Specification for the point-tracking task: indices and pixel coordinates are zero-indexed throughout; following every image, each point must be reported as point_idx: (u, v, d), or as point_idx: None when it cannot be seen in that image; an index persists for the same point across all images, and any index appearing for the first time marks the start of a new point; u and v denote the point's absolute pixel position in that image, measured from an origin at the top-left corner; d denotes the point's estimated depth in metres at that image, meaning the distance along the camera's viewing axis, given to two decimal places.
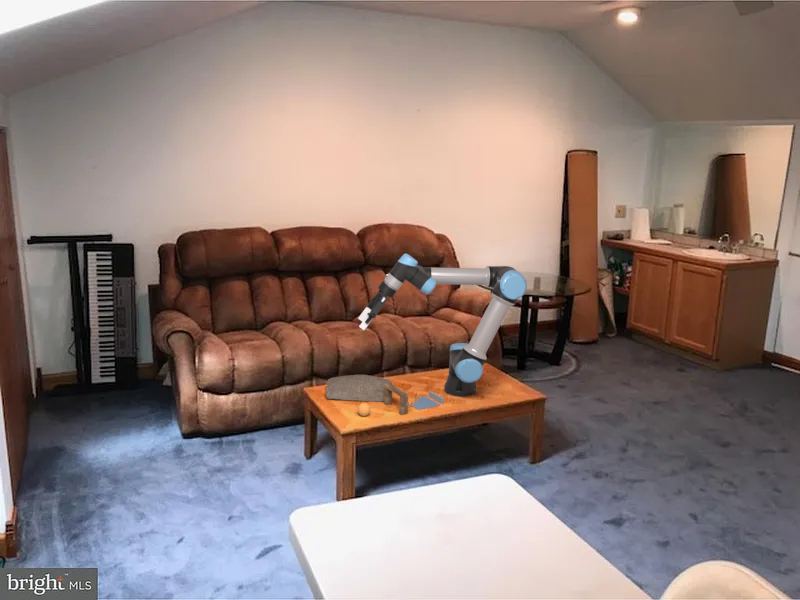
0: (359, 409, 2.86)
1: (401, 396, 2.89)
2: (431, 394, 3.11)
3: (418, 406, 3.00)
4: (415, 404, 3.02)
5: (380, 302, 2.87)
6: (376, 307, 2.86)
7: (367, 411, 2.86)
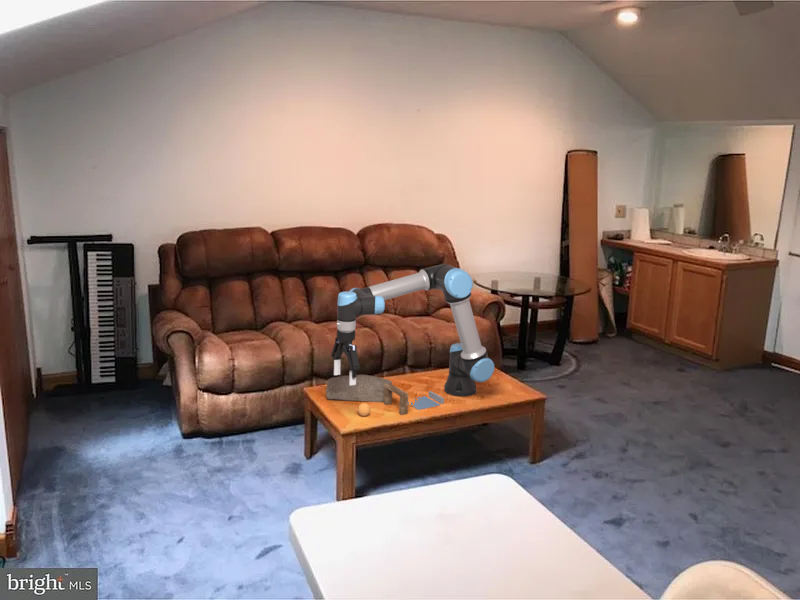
0: (359, 409, 2.86)
1: (401, 396, 2.89)
2: (431, 394, 3.11)
3: (418, 406, 3.00)
4: (415, 404, 3.02)
5: (353, 352, 2.71)
6: (353, 359, 2.70)
7: (367, 411, 2.86)
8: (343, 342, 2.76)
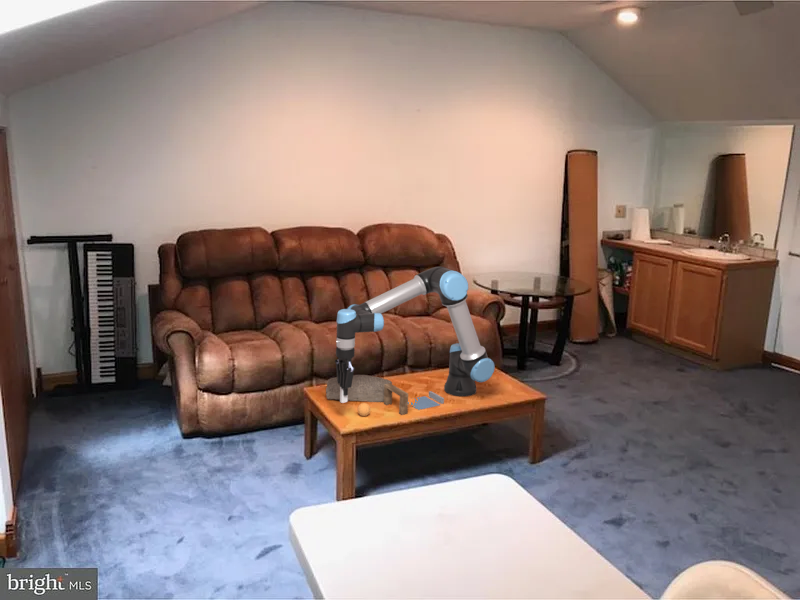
0: (359, 409, 2.86)
1: (401, 396, 2.89)
2: (431, 394, 3.11)
3: (418, 406, 3.00)
4: (415, 404, 3.02)
5: (350, 373, 2.74)
6: (348, 380, 2.75)
7: (367, 411, 2.86)
8: (342, 359, 2.77)
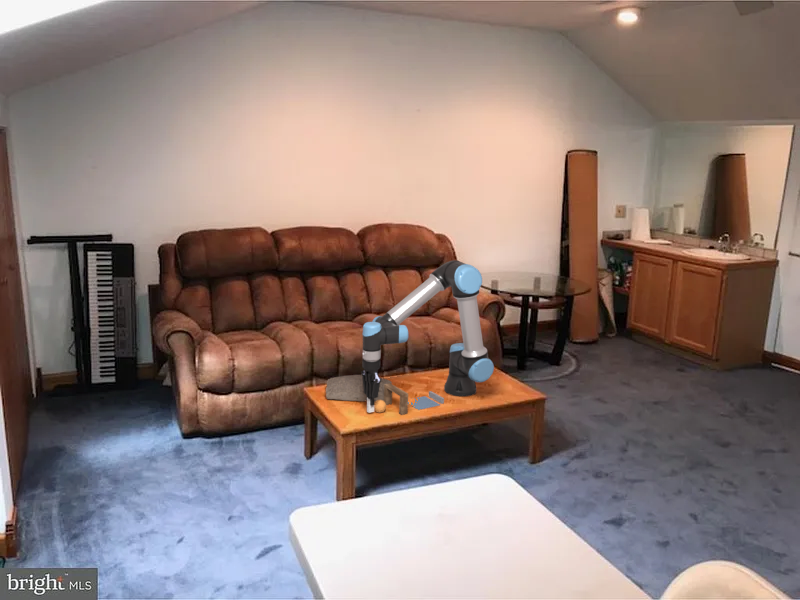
0: None
1: (401, 396, 2.89)
2: (431, 394, 3.11)
3: (418, 406, 3.00)
4: (415, 404, 3.02)
5: (376, 384, 2.82)
6: (374, 390, 2.83)
7: (382, 408, 2.90)
8: (369, 371, 2.85)
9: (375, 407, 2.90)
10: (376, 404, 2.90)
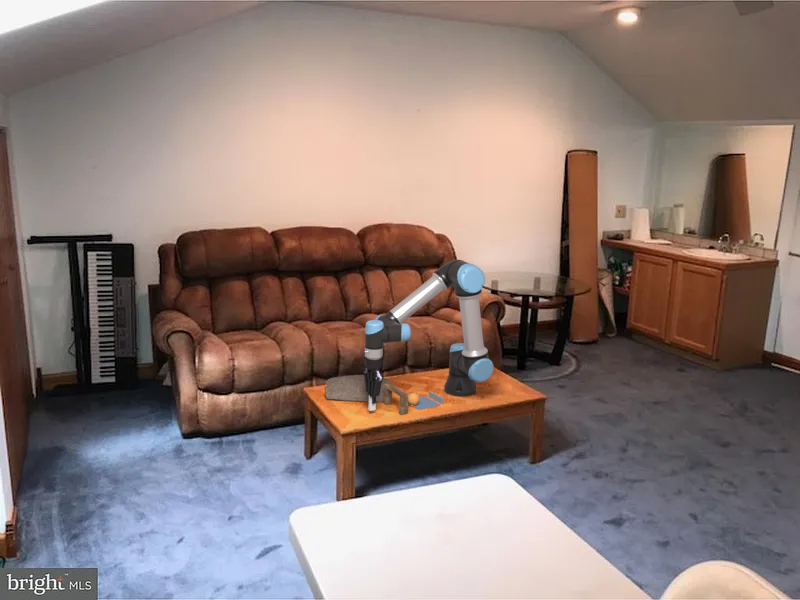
0: None
1: (401, 396, 2.89)
2: (431, 394, 3.11)
3: (418, 406, 3.00)
4: None
5: (378, 382, 2.83)
6: (376, 388, 2.84)
7: (416, 401, 2.99)
8: (371, 369, 2.85)
9: (409, 400, 2.99)
10: (410, 397, 2.99)
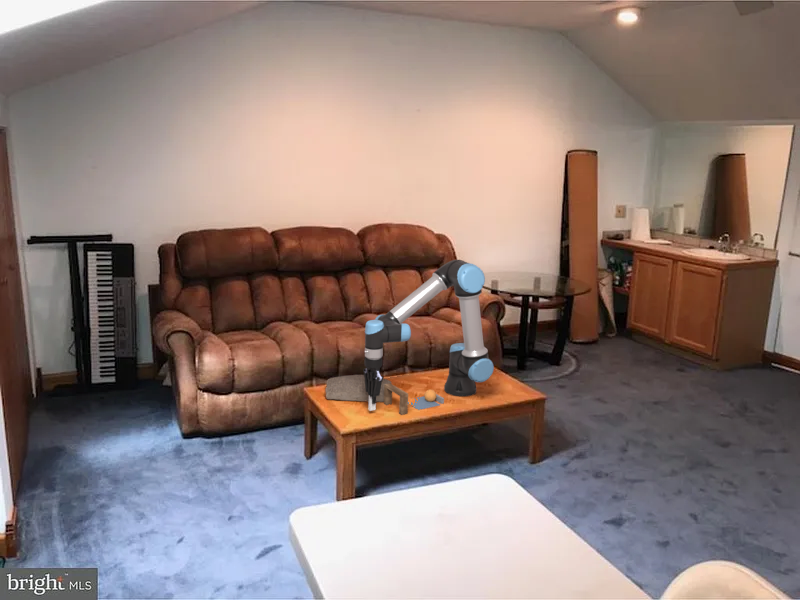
0: (426, 397, 3.05)
1: (401, 396, 2.89)
2: None
3: (418, 406, 3.00)
4: (415, 404, 3.02)
5: (378, 382, 2.83)
6: (376, 388, 2.84)
7: (434, 397, 3.04)
8: (371, 369, 2.85)
9: None
10: None
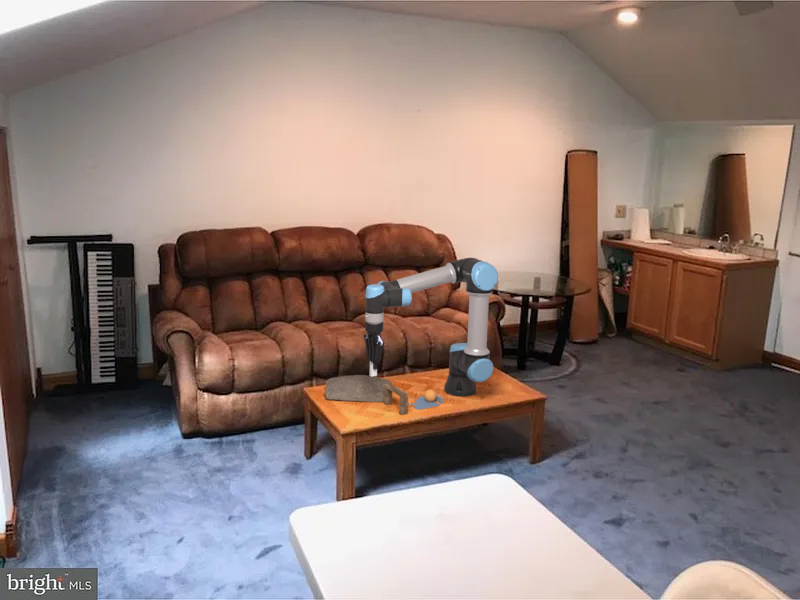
0: (426, 397, 3.05)
1: (401, 396, 2.89)
2: None
3: (418, 406, 3.00)
4: (415, 404, 3.02)
5: (379, 347, 2.80)
6: (377, 353, 2.81)
7: (434, 397, 3.04)
8: (371, 334, 2.83)
9: None
10: None
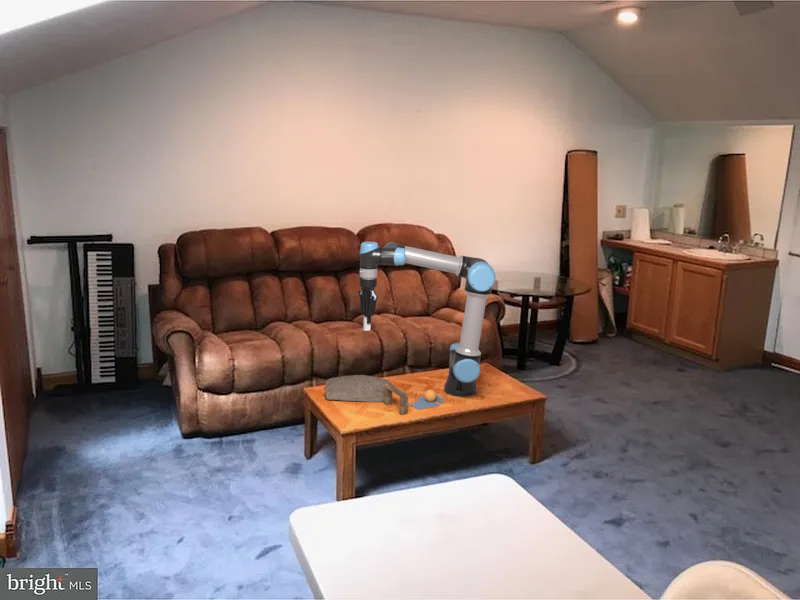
0: (426, 397, 3.05)
1: (401, 396, 2.89)
2: None
3: (418, 406, 3.00)
4: (415, 404, 3.02)
5: (373, 301, 2.92)
6: (371, 308, 2.93)
7: (434, 397, 3.04)
8: (365, 289, 2.95)
9: None
10: None
